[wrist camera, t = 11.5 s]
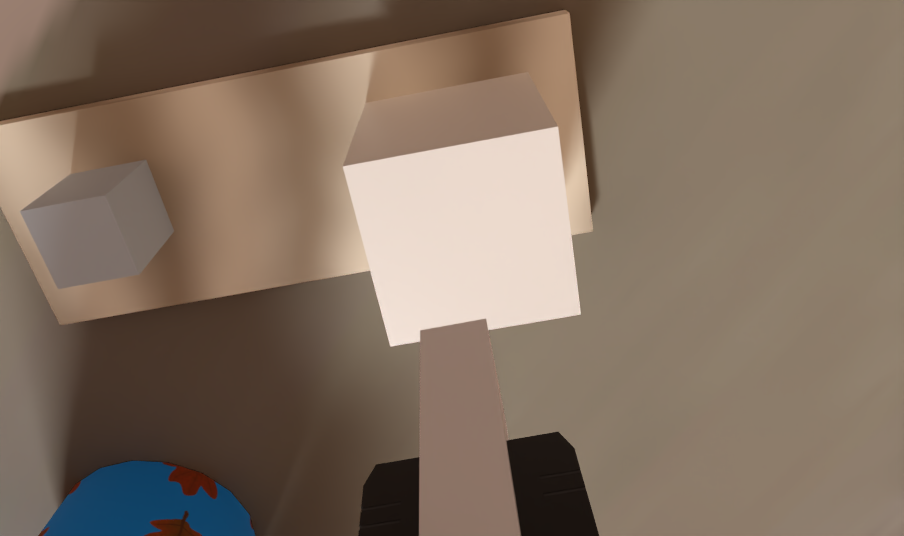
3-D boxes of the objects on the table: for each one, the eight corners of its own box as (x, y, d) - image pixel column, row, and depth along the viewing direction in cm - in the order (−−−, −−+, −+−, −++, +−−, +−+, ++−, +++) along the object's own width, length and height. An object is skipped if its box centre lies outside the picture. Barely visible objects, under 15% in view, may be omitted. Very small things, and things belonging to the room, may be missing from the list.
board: (70, 314, 33) (60, 325, 32) (-23, 125, 29) (-38, 132, 28) (588, 221, 32) (593, 231, 31) (565, 9, 28) (569, 13, 27)
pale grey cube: (102, 244, 31) (58, 289, 27) (70, 173, 29) (19, 211, 26) (174, 230, 30) (139, 274, 27) (146, 159, 29) (105, 195, 25)
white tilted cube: (400, 248, 31) (390, 346, 24) (365, 102, 28) (342, 166, 21) (548, 222, 31) (581, 314, 24) (527, 71, 28) (558, 126, 21)
